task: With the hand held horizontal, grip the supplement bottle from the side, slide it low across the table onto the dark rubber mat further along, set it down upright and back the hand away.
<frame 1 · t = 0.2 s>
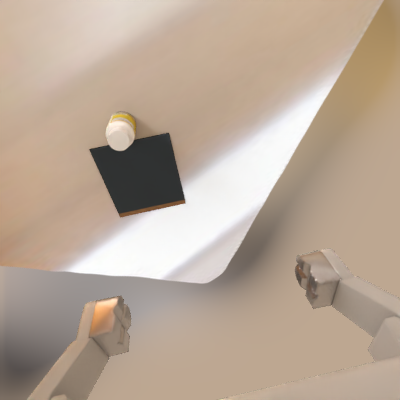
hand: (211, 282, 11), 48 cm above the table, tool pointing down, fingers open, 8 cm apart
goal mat: (142, 178, 62), on the table
supplement bottle: (123, 123, 54), on the table
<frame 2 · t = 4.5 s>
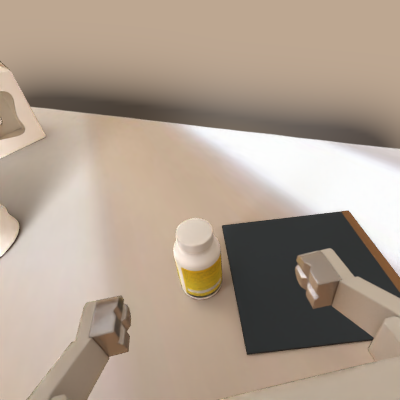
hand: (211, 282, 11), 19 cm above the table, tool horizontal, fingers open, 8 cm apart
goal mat: (307, 268, 32), on the table
supplement bottle: (201, 281, 33), on the table
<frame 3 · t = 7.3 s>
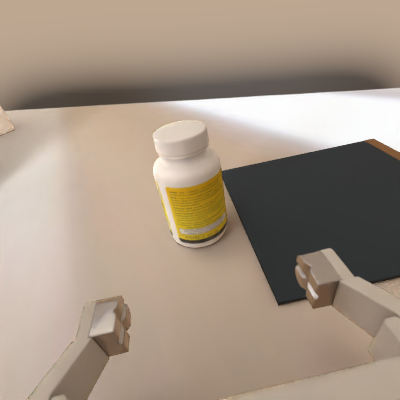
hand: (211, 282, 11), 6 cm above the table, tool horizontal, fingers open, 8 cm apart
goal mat: (340, 197, 24), on the table
supplement bottle: (199, 229, 24), on the table
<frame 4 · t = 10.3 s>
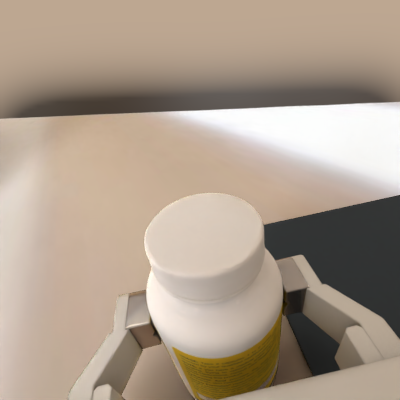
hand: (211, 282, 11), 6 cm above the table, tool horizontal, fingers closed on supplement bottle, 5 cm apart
supplement bottle: (227, 355, 14), on the table, touching gripper
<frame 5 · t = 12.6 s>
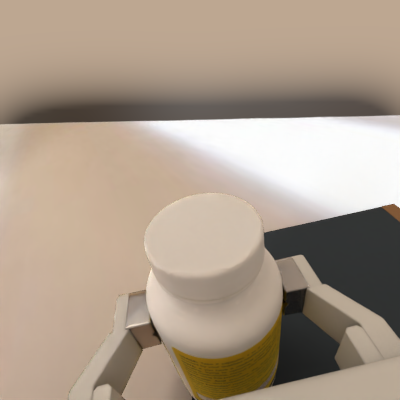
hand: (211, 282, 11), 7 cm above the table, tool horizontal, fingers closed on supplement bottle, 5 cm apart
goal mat: (350, 330, 15), on the table
supplement bottle: (227, 355, 14), point 1 cm above the table, touching gripper
when the fingers open (6 cm above the table, at t = 15.0 s): supplement bottle stays where it is, resting on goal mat.
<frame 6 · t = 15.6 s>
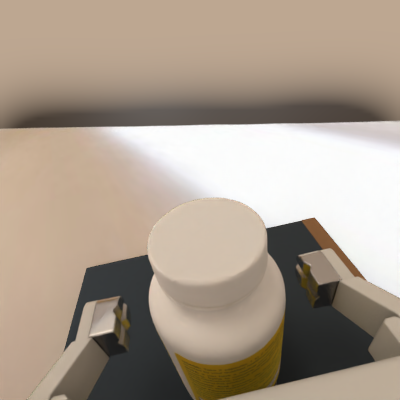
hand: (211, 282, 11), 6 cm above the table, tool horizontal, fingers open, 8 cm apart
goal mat: (227, 357, 14), on the table
supplement bottle: (229, 359, 14), resting on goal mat
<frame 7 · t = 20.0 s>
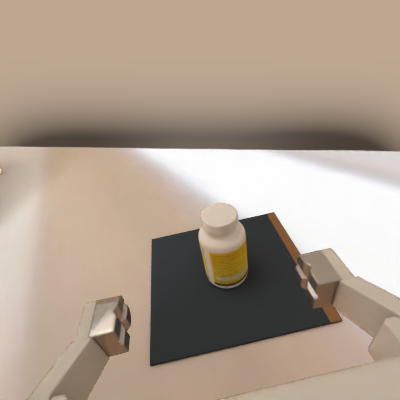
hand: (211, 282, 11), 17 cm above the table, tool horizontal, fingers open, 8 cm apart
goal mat: (226, 272, 33), on the table
supplement bottle: (227, 272, 32), resting on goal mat
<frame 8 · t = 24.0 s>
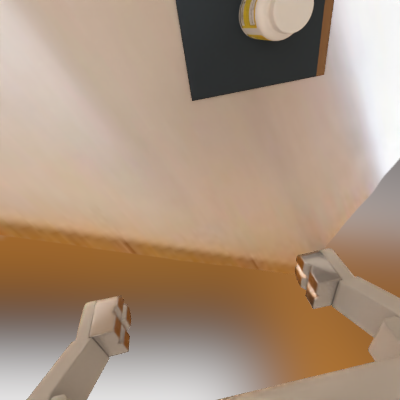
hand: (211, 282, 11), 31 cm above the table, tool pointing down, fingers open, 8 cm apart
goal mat: (257, 12, 32), on the table
supplement bottle: (258, 13, 32), resting on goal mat
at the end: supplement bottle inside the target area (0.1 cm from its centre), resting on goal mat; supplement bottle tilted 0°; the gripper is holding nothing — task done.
